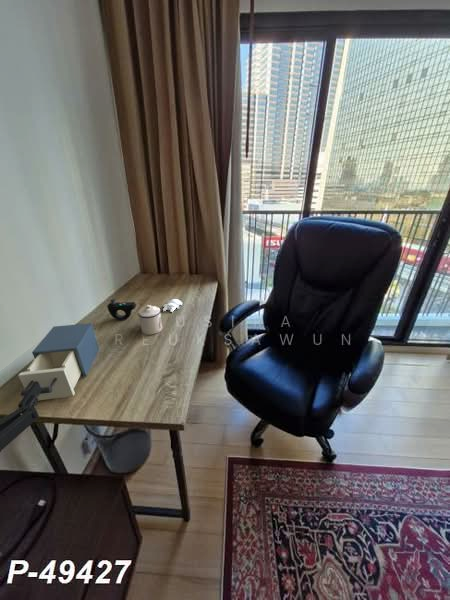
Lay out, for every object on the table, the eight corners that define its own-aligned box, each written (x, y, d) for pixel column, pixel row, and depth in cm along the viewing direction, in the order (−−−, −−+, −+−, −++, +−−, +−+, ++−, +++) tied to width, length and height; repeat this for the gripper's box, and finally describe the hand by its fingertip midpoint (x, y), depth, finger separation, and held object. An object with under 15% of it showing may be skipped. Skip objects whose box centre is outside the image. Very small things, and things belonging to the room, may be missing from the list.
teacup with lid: (164, 332, 106) (161, 308, 101) (142, 337, 103) (138, 312, 98) (159, 319, 116) (156, 296, 111) (139, 323, 113) (134, 300, 108)
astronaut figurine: (158, 311, 123) (157, 305, 122) (171, 300, 133) (171, 295, 132) (173, 314, 120) (173, 308, 119) (186, 303, 130) (185, 298, 129)
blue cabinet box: (86, 376, 83) (76, 347, 78) (44, 381, 81) (31, 352, 76) (99, 349, 96) (91, 323, 91) (63, 353, 94) (53, 326, 89)
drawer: (66, 409, 70) (55, 383, 66) (21, 415, 68) (6, 389, 64) (88, 365, 86) (80, 341, 82) (52, 369, 85) (42, 345, 80)
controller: (112, 317, 118) (107, 298, 113) (139, 315, 119) (135, 296, 115) (109, 322, 114) (104, 302, 110) (137, 320, 115) (133, 301, 111)
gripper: (-169, 528, 37) (-51, 409, 55) (18, 496, 40) (70, 394, 59) (-209, 501, 33) (-69, 384, 52) (-1, 469, 37) (60, 370, 56)
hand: (5, 389), depth 56 cm, fingers open, 13 cm apart
